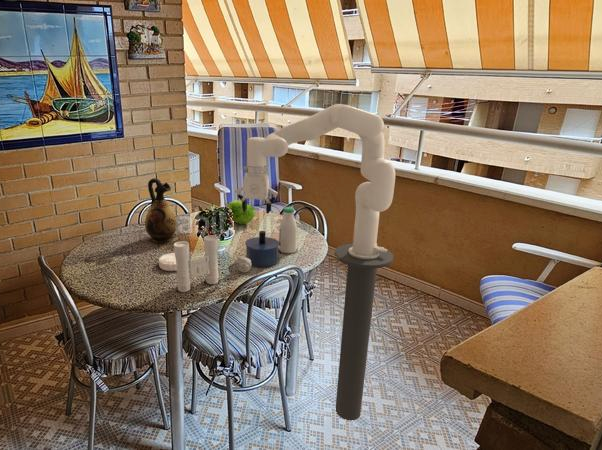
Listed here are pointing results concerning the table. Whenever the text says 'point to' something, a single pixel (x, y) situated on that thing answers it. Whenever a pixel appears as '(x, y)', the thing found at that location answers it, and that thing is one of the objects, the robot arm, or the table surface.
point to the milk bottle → (288, 231)
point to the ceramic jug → (160, 214)
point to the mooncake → (168, 262)
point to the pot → (262, 257)
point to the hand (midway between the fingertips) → (256, 211)
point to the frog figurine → (243, 263)
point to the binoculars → (196, 263)
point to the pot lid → (262, 243)
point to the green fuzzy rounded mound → (241, 212)
